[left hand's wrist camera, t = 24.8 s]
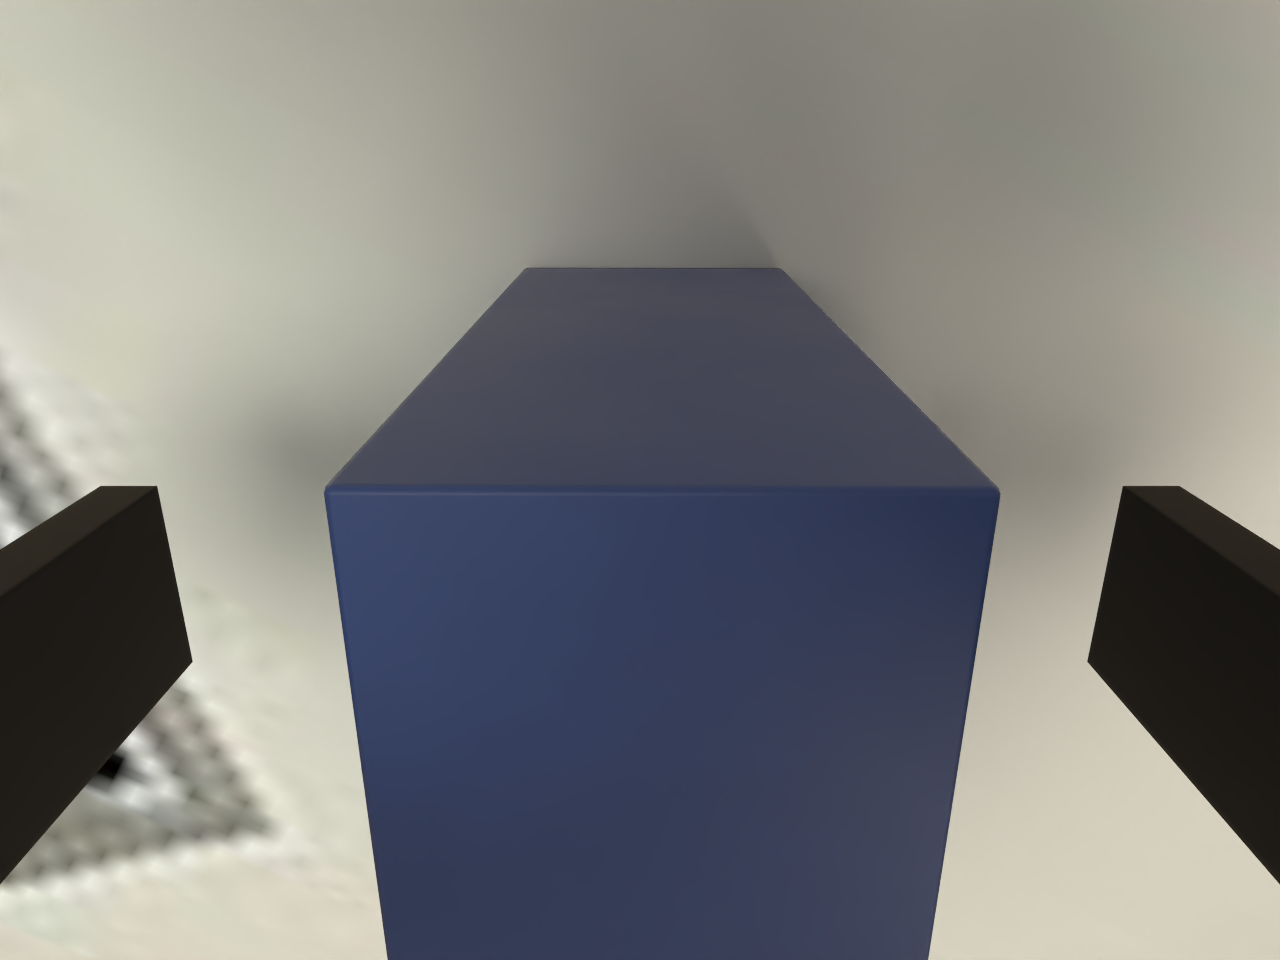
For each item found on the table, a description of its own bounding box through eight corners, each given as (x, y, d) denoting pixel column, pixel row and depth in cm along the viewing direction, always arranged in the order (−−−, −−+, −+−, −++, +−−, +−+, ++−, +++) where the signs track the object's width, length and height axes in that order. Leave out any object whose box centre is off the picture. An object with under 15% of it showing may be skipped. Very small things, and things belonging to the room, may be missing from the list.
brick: (537, 559, 20) (402, 1082, 9) (524, 267, 17) (318, 486, 6) (765, 560, 19) (910, 1085, 9) (781, 267, 17) (1004, 489, 6)
